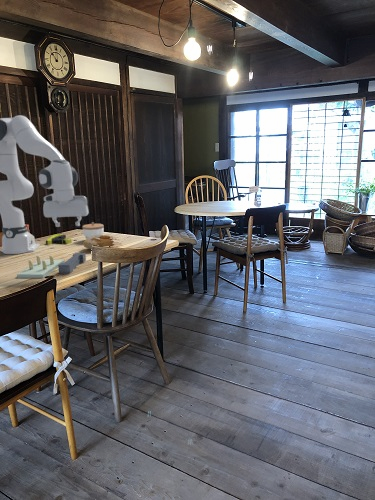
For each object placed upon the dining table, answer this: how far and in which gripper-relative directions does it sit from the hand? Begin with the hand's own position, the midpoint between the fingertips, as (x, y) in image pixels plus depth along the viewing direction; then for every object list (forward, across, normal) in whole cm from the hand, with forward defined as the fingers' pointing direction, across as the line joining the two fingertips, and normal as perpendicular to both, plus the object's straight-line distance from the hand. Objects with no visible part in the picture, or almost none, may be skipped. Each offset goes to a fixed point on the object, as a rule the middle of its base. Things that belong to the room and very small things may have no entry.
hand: (67, 226), depth 186 cm
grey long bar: (+20, 0, -1) cm, 20 cm away
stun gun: (+19, +27, -56) cm, 65 cm away
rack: (+20, +13, +4) cm, 24 cm away
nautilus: (+20, -5, -35) cm, 40 cm away
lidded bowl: (+19, +7, -57) cm, 61 cm away
